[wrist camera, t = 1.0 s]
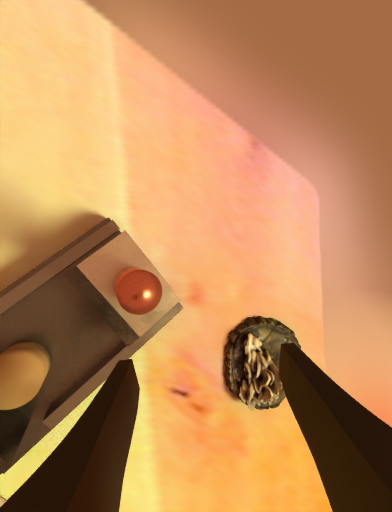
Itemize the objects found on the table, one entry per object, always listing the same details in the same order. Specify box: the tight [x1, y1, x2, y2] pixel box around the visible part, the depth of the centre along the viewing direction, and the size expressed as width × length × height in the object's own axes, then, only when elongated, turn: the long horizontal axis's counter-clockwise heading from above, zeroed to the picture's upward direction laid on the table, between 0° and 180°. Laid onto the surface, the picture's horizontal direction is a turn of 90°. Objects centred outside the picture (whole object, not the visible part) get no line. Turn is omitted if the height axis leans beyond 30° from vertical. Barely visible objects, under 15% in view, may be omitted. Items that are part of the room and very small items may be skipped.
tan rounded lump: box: [0, 342, 51, 410], centre depth 19 cm, size 4×4×3 cm
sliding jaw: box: [63, 231, 181, 347], centre depth 20 cm, size 6×8×8 cm
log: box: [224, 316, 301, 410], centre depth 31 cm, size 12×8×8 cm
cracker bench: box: [0, 218, 183, 474], centre depth 20 cm, size 20×12×6 cm, turn 129°
